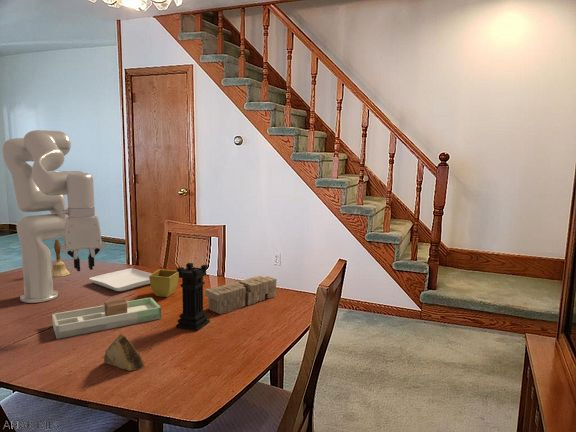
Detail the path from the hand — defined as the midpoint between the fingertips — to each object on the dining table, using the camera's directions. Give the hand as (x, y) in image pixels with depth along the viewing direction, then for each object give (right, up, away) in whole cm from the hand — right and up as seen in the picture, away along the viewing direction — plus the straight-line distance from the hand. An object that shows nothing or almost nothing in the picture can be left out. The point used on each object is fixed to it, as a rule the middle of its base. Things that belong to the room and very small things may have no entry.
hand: (84, 269), depth 141 cm
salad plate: (-4, -12, +47) cm, 49 cm away
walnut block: (+7, -16, +8) cm, 19 cm away
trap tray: (+5, -19, +7) cm, 20 cm away
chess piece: (+33, -20, +6) cm, 39 cm away
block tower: (+48, -17, +28) cm, 57 cm away
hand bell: (-37, -10, +57) cm, 69 cm away
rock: (+20, -24, -21) cm, 38 cm away
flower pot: (+16, -15, +34) cm, 40 cm away
